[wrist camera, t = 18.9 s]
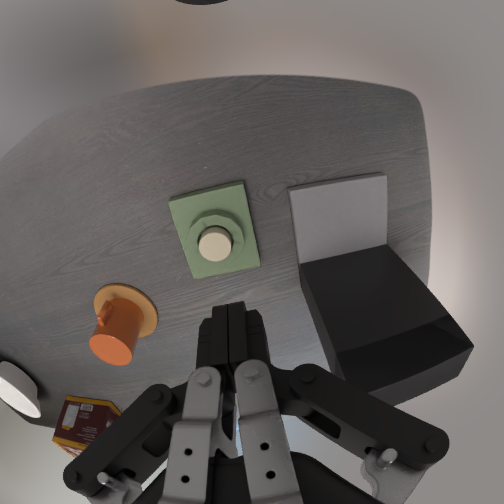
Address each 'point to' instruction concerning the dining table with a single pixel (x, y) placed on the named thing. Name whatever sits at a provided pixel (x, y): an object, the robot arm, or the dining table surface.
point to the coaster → (132, 295)
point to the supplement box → (82, 423)
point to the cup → (117, 331)
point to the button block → (216, 215)
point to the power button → (215, 244)
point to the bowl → (18, 390)
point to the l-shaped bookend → (370, 294)
